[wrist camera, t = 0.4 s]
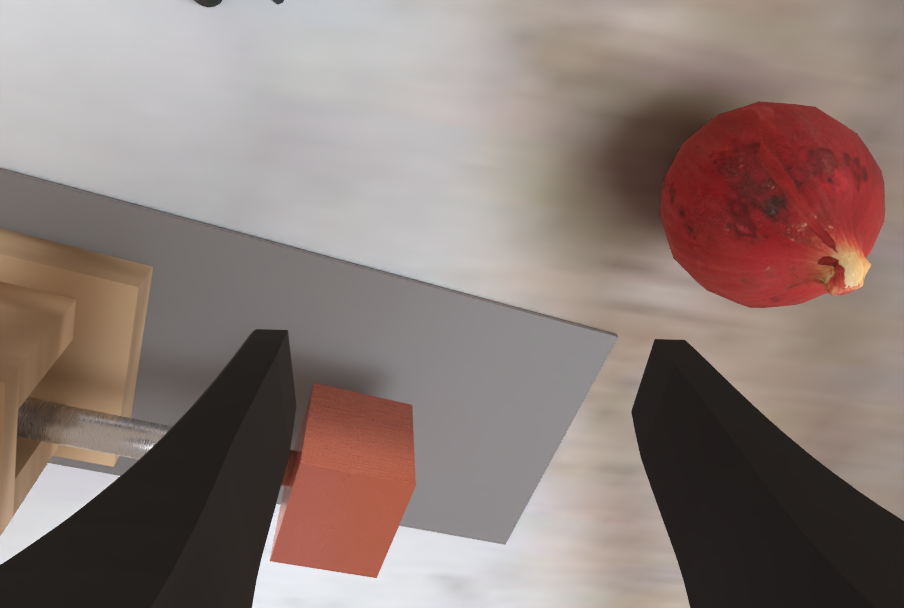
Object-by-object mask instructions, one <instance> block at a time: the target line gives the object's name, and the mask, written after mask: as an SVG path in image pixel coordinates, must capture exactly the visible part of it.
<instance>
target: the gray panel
mask: <svg viewBox="0 0 904 608" xmlns="http://www.w3.org/2000/svg"><path fill="white" fill-rule="evenodd" d="M0 228H1V229H5V230H9V231H13V232H17V233H21V234H25V235H29V236H33V237H37V238H41V239H45V240H49V241H53V242H57V243H61V244H65V245H69V246H73V247H77V248H81V249H85V250H89V251H93V252H97V253H101V254H105V255H109V256H113V257H117V258H121V259H125V260H129V261H133V262H137V263H141V264H144V265H148V266H152V267H153V271H152V278H151V285H150V291H149V298H148V305H147V312H146V319H145V325H144V332H143V339H142V346H141V353H140V359H139V366H138V373H137V380H136V387H135V394H134V400H133V407H132V414H131V418H133V419H138V420H143V421H148V422H153V423H158V424H164V425H169V426H174V424H175V423H176V422H177V421H178V420H179V419H180V418H181V417H182V416H183V415H184V414H185V413H186V412H187V411H188V410H189V409H190V408H191V406H192V405H193V404H194V403H195V402H196V401H197V400H198V398H199V397H200V396H201V395H202V394H203V393H204V391H205V390H206V389H207V388H208V387H209V386H210V384H211V383H212V382H213V381H214V380H215V379H216V377H217V376H218V375H219V374H220V373H221V371H222V370H223V369H224V368H225V366H226V365H227V364H228V363H229V361H230V360H231V359H232V357H233V356H234V355H235V354H236V352H237V351H238V350H239V348H240V347H241V346H242V344H243V343H244V342H245V340H246V339H247V338H248V336H249V335H250V334H251V333H252V332H253V331H254V330H255V329H270V330H288V335H289V344H290V353H291V361H292V370H293V379H294V388H295V397H296V413H295V420H294V428H293V435H292V441H291V448H290V450H294V448H295V444H296V441H297V438H298V434H299V431H300V428H301V424H302V421H303V418H304V414H305V411H306V408H307V404H308V401H309V398H310V394H311V391H312V388H313V385H314V383H317V384H322V385H326V386H331V387H335V388H340V389H344V390H349V391H353V392H357V393H362V394H366V395H371V396H375V397H380V398H384V399H389V400H393V401H398V402H402V403H407V404H411V405H412V408H413V431H414V453H415V476H416V487H415V489H414V492H413V494H412V496H411V499H410V501H409V503H408V506H407V508H406V510H405V513H404V515H403V517H402V520H401V522H400V524H399V526H405V527H410V528H416V529H421V530H427V531H432V532H438V533H444V534H449V535H455V536H460V537H466V538H472V539H477V540H483V541H488V542H494V543H500V544H506V542H507V540H508V539H509V537H510V535H511V533H512V531H513V529H514V528H515V526H516V524H517V522H518V520H519V518H520V517H521V515H522V513H523V511H524V509H525V507H526V505H527V504H528V502H529V500H530V498H531V496H532V494H533V493H534V491H535V489H536V487H537V485H538V483H539V482H540V480H541V478H542V476H543V474H544V472H545V471H546V469H547V467H548V465H549V463H550V461H551V460H552V458H553V456H554V454H555V452H556V450H557V449H558V447H559V445H560V443H561V441H562V439H563V437H564V436H565V434H566V432H567V430H568V428H569V426H570V425H571V423H572V421H573V419H574V417H575V415H576V414H577V412H578V410H579V408H580V406H581V404H582V403H583V401H584V399H585V397H586V395H587V393H588V392H589V390H590V388H591V386H592V384H593V382H594V381H595V379H596V377H597V375H598V373H599V371H600V370H601V368H602V366H603V364H604V362H605V360H606V358H607V357H608V355H609V353H610V351H611V349H612V347H613V346H614V344H615V342H616V340H617V338H618V336H617V334H613V333H609V332H606V331H602V330H598V329H595V328H591V327H587V326H583V325H580V324H576V323H572V322H569V321H565V320H561V319H557V318H554V317H550V316H546V315H543V314H539V313H535V312H532V311H528V310H524V309H520V308H517V307H513V306H509V305H506V304H502V303H498V302H495V301H491V300H487V299H483V298H480V297H476V296H472V295H469V294H465V293H461V292H457V291H454V290H450V289H446V288H443V287H439V286H435V285H432V284H428V283H424V282H420V281H417V280H413V279H409V278H406V277H402V276H398V275H394V274H391V273H387V272H383V271H380V270H376V269H372V268H369V267H365V266H361V265H357V264H354V263H350V262H346V261H343V260H339V259H335V258H332V257H328V256H324V255H320V254H317V253H313V252H309V251H306V250H302V249H298V248H294V247H291V246H287V245H283V244H280V243H276V242H272V241H269V240H265V239H261V238H257V237H254V236H250V235H246V234H243V233H239V232H235V231H231V230H228V229H224V228H220V227H217V226H213V225H209V224H206V223H202V222H198V221H194V220H191V219H187V218H183V217H180V216H176V215H172V214H169V213H165V212H161V211H157V210H154V209H150V208H146V207H143V206H139V205H135V204H131V203H128V202H124V201H120V200H117V199H113V198H109V197H106V196H102V195H98V194H94V193H91V192H87V191H83V190H80V189H76V188H72V187H68V186H65V185H61V184H57V183H54V182H50V181H46V180H43V179H39V178H35V177H31V176H28V175H24V174H20V173H17V172H13V171H9V170H6V169H2V168H0ZM138 460H139V459H135V458H129V457H124V456H119V458H118V460H117V462H116V463H115V465H114V467H112V466H107V465H101V464H96V463H90V462H85V461H79V460H74V459H68V458H63V457H57V456H52V457H51V458H50V460H49V461H48V463H53V464H58V465H64V466H69V467H75V468H81V469H86V470H92V471H97V472H103V473H108V474H114V475H120V476H121V475H122V474H124V473H125V472H126V471H127V470H128V469H129V468H130V467H131V466H133V465H134V464H135V463H136V462H137V461H138ZM283 490H284V486H281V488H280V491H279V495H278V499H277V502H276V504H281V500H282V495H283Z"/></svg>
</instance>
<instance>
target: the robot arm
mask: <svg viewBox="0 0 904 608" xmlns="http://www.w3.org/2000/svg"><path fill="white" fill-rule="evenodd" d="M631 412H632V417H633V422H634V427H635V433H636V438H637V442H638V446H639V451H640V455H641V459H642V462H643V465H644V468H645V471H646V474H647V476H648V479H649V482H650V485H651V488H652V491H653V494H654V496H655V499H656V502H657V505H658V507H659V510H660V513H661V516H662V518H663V521H664V524H665V527H666V530H667V532H668V535H669V538H670V541H671V543H672V546H673V549H674V552H675V555H676V557H677V560H678V564H679V567H680V570H681V573H682V577H683V580H684V584H685V588H686V592H687V596H688V600H689V604H690V608H904V521H903V520H901V519H900V518H898V517H897V516H895V515H893V514H892V513H890V512H889V511H887V510H886V509H884V508H882V507H881V506H879V505H878V504H876V503H875V502H873V501H872V500H871V499H869V498H868V497H866V496H865V495H863V494H862V493H860V492H859V491H857V490H856V489H855V488H853V487H852V486H851V485H849V484H848V483H847V482H845V481H844V480H843V479H841V478H840V477H838V476H837V475H836V474H834V473H833V472H832V471H830V470H829V469H828V468H826V467H825V466H824V465H822V464H821V463H820V462H819V461H817V460H816V459H815V458H813V457H812V456H811V455H810V454H808V453H807V452H806V451H805V450H804V449H802V448H801V447H800V446H799V445H798V444H796V443H795V442H794V441H793V440H792V439H791V438H789V437H788V436H787V435H786V434H785V433H783V432H782V431H781V430H780V429H779V428H778V427H777V426H775V425H774V424H773V423H772V422H771V421H770V420H769V419H768V418H766V417H765V416H764V415H763V414H762V413H761V412H760V411H759V410H758V409H757V408H755V407H754V406H753V405H752V404H751V403H750V402H749V401H748V400H747V399H746V398H745V397H744V396H743V395H742V394H741V393H740V392H739V391H737V390H736V389H735V388H734V387H733V386H732V385H731V384H730V383H729V382H728V381H727V380H726V379H725V378H724V377H723V376H722V375H721V374H720V373H719V372H718V371H717V370H716V369H715V368H714V367H713V366H712V365H711V364H710V363H709V362H708V361H707V360H706V359H705V358H703V357H702V356H701V355H700V354H699V353H698V352H697V351H696V350H695V349H694V348H693V347H692V346H691V345H690V344H689V343H688V342H686V341H685V340H664V339H655V340H654V343H653V346H652V350H651V353H650V356H649V359H648V362H647V365H646V368H645V371H644V374H643V377H642V380H641V383H640V387H639V390H638V393H637V396H636V399H635V402H634V405H633V408H632V411H631ZM295 413H296V397H295V388H294V379H293V370H292V361H291V353H290V344H289V335H288V330H270V329H255V330H254V331H253V332H252V333H251V334H250V335H249V336H248V338H247V339H246V340H245V342H244V343H243V344H242V346H241V347H240V348H239V350H238V351H237V352H236V354H235V355H234V356H233V357H232V359H231V360H230V361H229V363H228V364H227V365H226V366H225V368H224V369H223V370H222V371H221V373H220V374H219V375H218V376H217V377H216V379H215V380H214V381H213V382H212V383H211V384H210V386H209V387H208V388H207V389H206V390H205V391H204V393H203V394H202V395H201V396H200V397H199V398H198V400H197V401H196V402H195V403H194V404H193V405H192V406H191V408H190V409H189V410H188V411H187V412H186V413H185V414H184V415H183V416H182V417H181V418H180V419H179V420H178V421H177V422H176V423H175V424H174V426H173V427H172V428H171V429H170V430H169V431H168V432H167V433H166V434H165V435H164V436H163V437H162V438H161V439H160V440H159V441H158V442H157V443H156V444H155V445H154V446H153V447H152V448H151V449H150V450H149V451H148V452H147V453H146V454H145V455H144V456H142V457H141V458H140V459H139V460H138V461H137V462H136V463H135V464H134V465H133V466H131V467H130V468H129V469H128V470H127V471H126V472H125V473H124V474H122V475H121V476H120V477H119V478H118V479H117V480H116V481H114V482H113V483H112V484H111V485H110V486H108V487H107V488H106V489H105V490H103V491H102V492H101V493H100V494H98V495H97V496H96V497H95V498H94V499H92V500H91V501H90V502H89V503H87V504H86V505H85V506H84V507H82V508H81V509H80V510H78V511H77V512H76V513H75V514H73V515H72V516H71V517H69V518H68V519H67V520H65V521H64V522H63V523H61V524H60V525H59V526H57V527H56V528H54V529H53V530H51V531H50V532H48V533H47V534H46V535H44V536H43V537H41V538H40V539H38V540H37V541H35V542H34V543H33V544H31V545H30V546H28V547H27V548H25V549H24V550H22V551H21V552H19V553H18V554H16V555H15V556H13V557H12V558H10V559H9V560H7V561H6V562H4V563H3V564H1V565H0V608H252V603H253V597H254V591H255V585H256V579H257V575H258V570H259V566H260V562H261V557H262V553H263V550H264V546H265V542H266V539H267V535H268V531H269V528H270V524H271V521H272V517H273V513H274V510H275V506H276V502H277V499H278V495H279V491H280V488H281V484H282V480H283V476H284V473H285V469H286V465H287V461H288V457H289V454H290V448H291V441H292V435H293V428H294V420H295Z"/></svg>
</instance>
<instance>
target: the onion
mask: <svg viewBox="0 0 904 608" xmlns="http://www.w3.org/2000/svg"><path fill="white" fill-rule="evenodd" d="M660 216H661V220H662V223H663V227H664V230H665V233H666V236H667V240H668V243H669V246H670V249H671V252H672V255H673V258H674V259H675V260H676V261H677V262H678V263H679V264H680V265H681V266H682V267H683V268H684V269H685V270H686V271H687V272H688V273H689V274H690V275H691V276H692V277H693V278H694V279H695V280H696V281H697V282H698V283H699V284H700V285H701V286H703V287H704V288H705V289H706V290H708V291H710V292H713V293H715V294H717V295H719V296H722V297H724V298H726V299H729V300H731V301H733V302H736V303H738V304H741V305H744V306H747V307H750V308H767V307H778V306H788V305H796V304H800V303H804V302H806V301H809V300H811V299H813V298H816V297H818V296H821V295H823V294H825V293H829V294H830V295H843V294H846V293H849V292H852V291H854V290H856V289H858V288H860V287H862V286H863V282H864V278H865V275H866V273H867V271H868V270H869V268H870V266H871V264H870V263H869V262H868V260H867V259H866V257H867V256H868V255H869V254H870V252H871V250H872V248H873V246H874V243H875V241H876V239H877V237H878V234H879V232H880V230H881V227H882V225H883V223H884V218H885V194H884V180H883V176H882V172H881V169H880V168H879V166H878V165H877V163H876V161H875V160H874V158H873V156H872V155H871V153H870V152H869V150H868V148H867V147H866V145H865V144H864V143H863V141H862V140H861V138H860V137H859V136H858V134H857V133H855V132H854V131H852V130H851V129H849V128H848V127H846V126H845V125H843V124H842V123H840V122H839V121H837V120H835V119H834V118H832V117H831V116H829V115H827V114H826V113H824V112H823V111H821V110H819V109H818V108H816V107H812V106H804V105H796V104H784V103H770V102H757V103H754V104H751V105H747V106H744V107H741V108H738V109H735V110H732V111H729V112H726V113H722V114H719V115H717V116H716V117H714V118H713V119H711V120H710V121H709V122H708V123H707V124H705V125H704V126H703V127H702V128H701V129H699V130H698V131H697V132H696V133H695V134H693V135H692V136H691V137H690V138H689V139H687V140H686V141H685V142H684V143H683V144H682V146H681V148H680V150H679V151H678V153H677V155H676V157H675V159H674V161H673V163H672V164H671V166H670V168H669V170H668V172H667V174H666V176H665V177H664V179H663V187H662V199H661V210H660Z"/></svg>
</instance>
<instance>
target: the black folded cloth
mask: <svg viewBox="0 0 904 608" xmlns="http://www.w3.org/2000/svg"><path fill="white" fill-rule="evenodd" d="M194 1H196V2H197V3H199V4H200V5H202V6H206V7H214V6H216V5H218V4H220V3H221V1H222V0H194ZM273 1H274V2H275V3H276V4H280V3H283V1H284V0H273Z"/></svg>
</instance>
